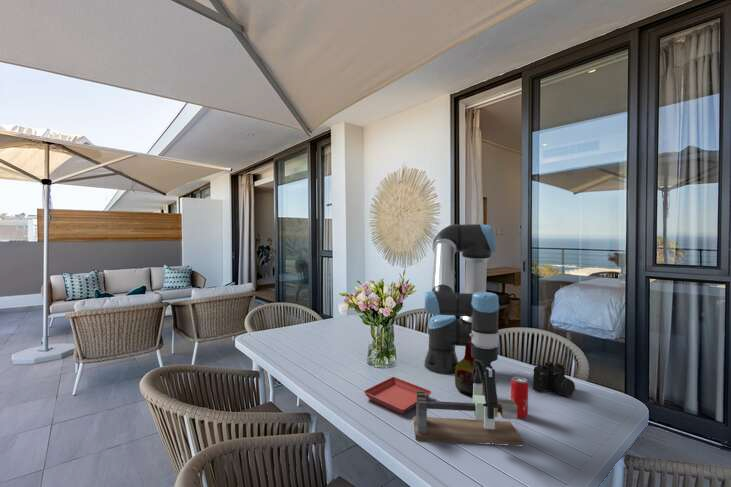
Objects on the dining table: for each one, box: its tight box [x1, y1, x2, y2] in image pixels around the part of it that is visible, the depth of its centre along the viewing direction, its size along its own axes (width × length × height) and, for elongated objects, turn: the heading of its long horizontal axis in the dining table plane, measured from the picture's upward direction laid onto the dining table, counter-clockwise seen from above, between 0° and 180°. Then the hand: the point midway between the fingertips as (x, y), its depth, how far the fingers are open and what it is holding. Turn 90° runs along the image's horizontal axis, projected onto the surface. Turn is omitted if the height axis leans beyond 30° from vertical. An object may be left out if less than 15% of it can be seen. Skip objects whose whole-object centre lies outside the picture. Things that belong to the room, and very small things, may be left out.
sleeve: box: [472, 395, 486, 420], centre depth 101 cm, size 5×5×5 cm
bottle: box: [454, 341, 484, 398], centre depth 127 cm, size 12×6×20 cm, turn 37°
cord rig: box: [413, 390, 524, 446], centre depth 101 cm, size 10×30×10 cm, turn 85°
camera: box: [532, 361, 576, 397], centre depth 129 cm, size 14×11×10 cm
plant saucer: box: [363, 376, 432, 414], centre depth 122 cm, size 18×18×3 cm
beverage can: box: [510, 376, 529, 419], centre depth 112 cm, size 5×5×12 cm
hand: (483, 415), depth 101 cm, fingers open, 13 cm apart
